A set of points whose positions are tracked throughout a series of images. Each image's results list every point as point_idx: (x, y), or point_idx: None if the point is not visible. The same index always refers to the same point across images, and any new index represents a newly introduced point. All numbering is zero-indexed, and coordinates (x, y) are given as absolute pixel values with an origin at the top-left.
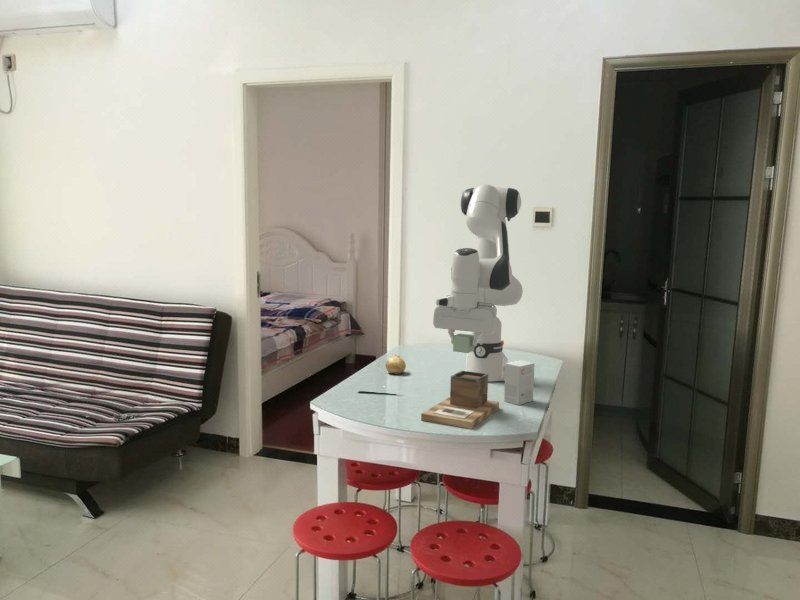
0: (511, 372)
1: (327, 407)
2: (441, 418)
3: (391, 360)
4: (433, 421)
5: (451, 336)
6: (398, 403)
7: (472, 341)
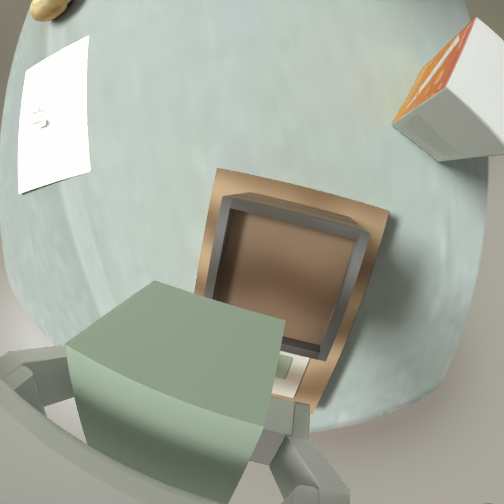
0: (460, 124)
1: (28, 308)
2: None
3: (33, 9)
4: None
5: (62, 395)
6: (98, 247)
7: (267, 459)
